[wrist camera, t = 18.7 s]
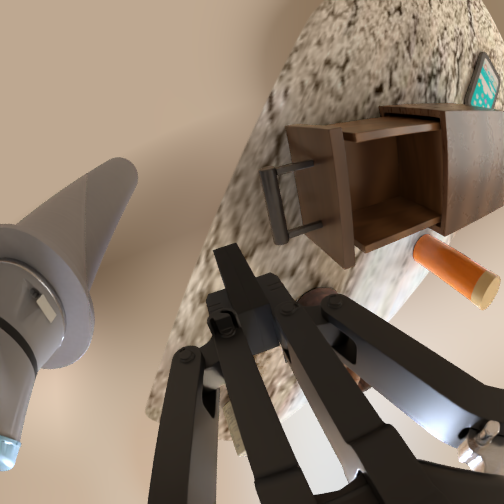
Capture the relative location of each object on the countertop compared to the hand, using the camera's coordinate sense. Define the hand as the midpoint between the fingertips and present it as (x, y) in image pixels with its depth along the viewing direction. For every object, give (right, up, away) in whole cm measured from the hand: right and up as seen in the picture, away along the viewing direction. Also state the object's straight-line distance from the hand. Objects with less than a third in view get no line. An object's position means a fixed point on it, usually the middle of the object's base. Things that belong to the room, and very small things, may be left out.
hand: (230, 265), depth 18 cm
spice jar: (+29, +1, +23) cm, 37 cm away
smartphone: (+42, +29, +14) cm, 53 cm away
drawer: (+10, +10, +12) cm, 19 cm away
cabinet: (+25, +15, +16) cm, 33 cm away
